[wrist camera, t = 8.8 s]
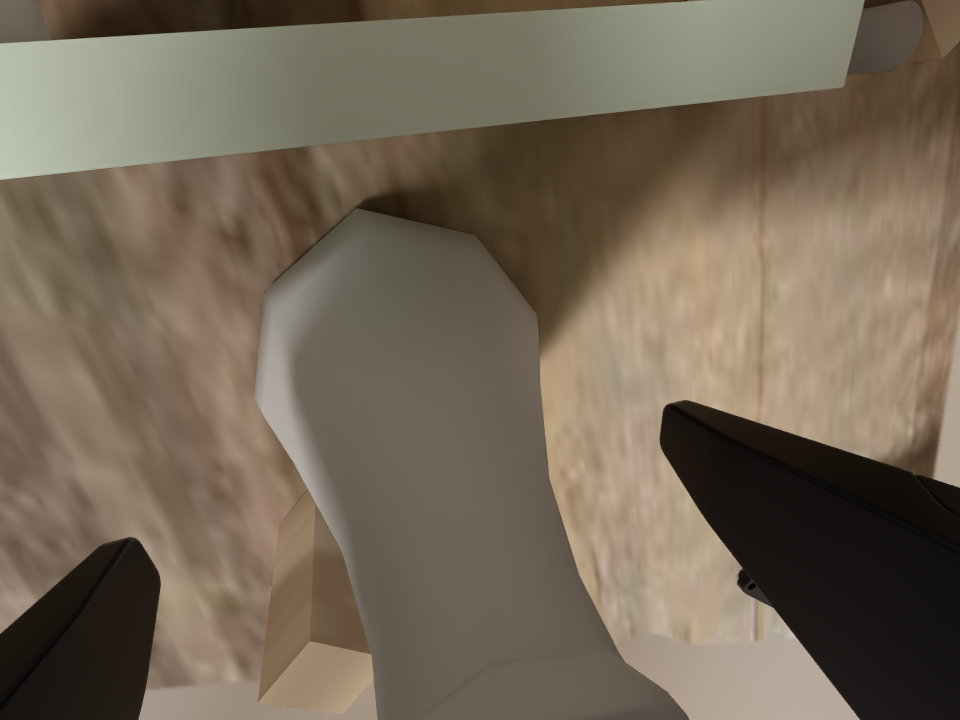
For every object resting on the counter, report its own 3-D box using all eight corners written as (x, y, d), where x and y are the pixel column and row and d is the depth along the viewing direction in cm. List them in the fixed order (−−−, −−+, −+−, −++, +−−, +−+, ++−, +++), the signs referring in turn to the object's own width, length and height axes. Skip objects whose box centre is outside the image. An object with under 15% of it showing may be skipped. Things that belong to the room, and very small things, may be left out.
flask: (337, 146, 10) (374, 325, 2) (575, 297, 14) (984, 613, 5) (204, 407, 12) (-87, 1108, 4) (442, 486, 15) (582, 950, 7)
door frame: (776, 11, 12) (1039, -47, 7) (338, 545, 15) (341, 714, 11) (736, -63, 11) (1011, -180, 6) (279, 526, 14) (257, 702, 10)
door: (662, 95, 11) (843, 87, 7) (24, 161, 9) (-231, 204, 5) (672, -21, 10) (890, -104, 6) (-49, 15, 8) (-456, -87, 4)
